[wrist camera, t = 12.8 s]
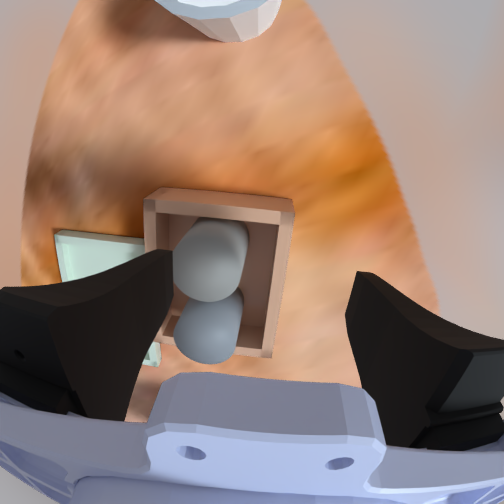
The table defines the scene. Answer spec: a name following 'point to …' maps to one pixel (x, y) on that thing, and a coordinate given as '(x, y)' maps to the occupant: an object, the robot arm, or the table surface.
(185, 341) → the pebble
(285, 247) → the dish
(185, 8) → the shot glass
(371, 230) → the table surface
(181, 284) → the pebble
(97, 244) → the parts tray
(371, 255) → the table surface
